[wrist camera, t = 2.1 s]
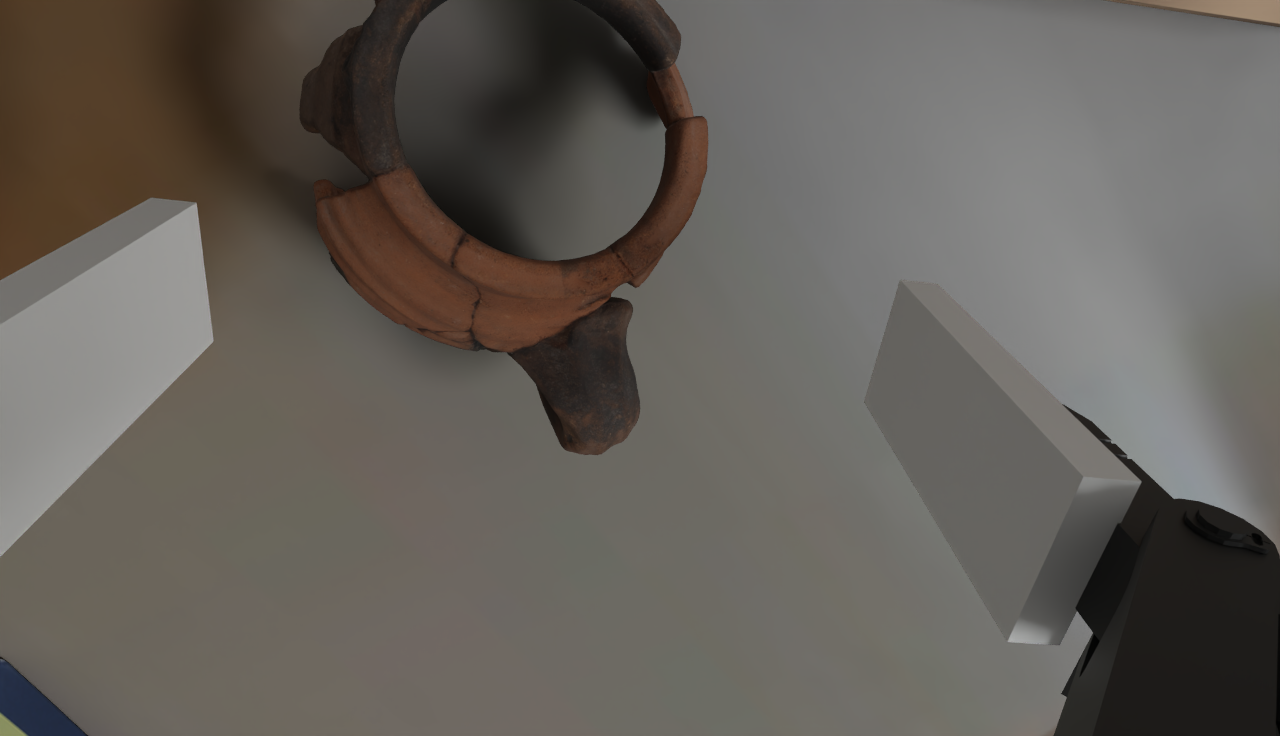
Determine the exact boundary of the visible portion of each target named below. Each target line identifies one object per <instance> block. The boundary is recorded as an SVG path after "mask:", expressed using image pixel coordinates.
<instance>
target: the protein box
mask: <svg viewBox="0 0 1280 736" xmlns="http://www.w3.org/2000/svg"><path fill="white" fill-rule="evenodd" d="M0 736H87V735H86V734H85V733H84V732H83V731H82V730H81V729H80V728H79V727H77V726H76V725H75V724H74V723H73V722H72V721H71V720H70V719H69V718H68V717H67V716H66V715H64V714H63V713H62V712H61V711H60V710H59V709H58V708H57V707H56V706H55V705H54V704H53V703H51V702H50V701H49V700H48V699H47V698H46V697H45V696H44V695H43V694H42V693H41V692H39V691H38V690H37V689H36V688H35V687H34V686H33V685H32V684H31V683H30V682H29V681H27V680H26V679H25V678H24V677H23V676H22V675H21V674H20V673H19V672H18V671H17V670H16V669H15V668H13V667H12V666H11V665H10V664H9V663H8V662H6V661H5V660H3V659H0Z"/></svg>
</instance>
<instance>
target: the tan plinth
mask: <svg viewBox="0 0 1280 736" xmlns="http://www.w3.org/2000/svg"><path fill="white" fill-rule="evenodd" d="M1105 1H1112V2H1118V3H1125V4H1131V5H1138V6H1145V7H1151V8H1158V9H1164V10H1171V11H1178V12H1184V13H1191V14H1197V15H1204V16H1211V17H1217V18H1224V19H1230V20H1237V21H1244V22H1250V23H1257V24H1263V25H1270V26H1277V27H1280V0H1105Z"/></svg>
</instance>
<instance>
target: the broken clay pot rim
mask: <svg viewBox="0 0 1280 736" xmlns="http://www.w3.org/2000/svg"><path fill="white" fill-rule="evenodd" d="M445 1H447V0H375V4H376V7H375V8H374V10H373V12H372V14H371V15H370V16H369V17H368V19H367V20H366V21H365V22H364V23H363V25H361V26H357V27H354V28H351V29H348V30H347V32H346V33H345V34H344V35H342V36H340V37H338V38H337V39H336V40H334V41H333V42H332V43H331V45H330V46H329V48H328V49H327V51H326V53H325V55H324V58H323V60H322V62H321V64H320V65H319V66H318V67H316V68H314V69H313V70H311V71H310V72H309V73H308V74H307V75H306V76H305V78H304V80H303V84H302V93H301V100H300V121H301V124H302V126H303V127H304V129H305V130H306V131H308V132H312V133H320V134H321V135H322V136H323V138H324V139H325V140H326V141H327V142H328V143H329V144H330V145H332V146H334V147H335V148H336V149H338V150H340V151H341V152H343V153H344V154H345V156H346V157H347V158H348V159H349V160H350V161H351V162H352V163H354V164H355V165H356V166H357V167H358V168H359V169H360V170H361V172H362V173H364V174H365V175H366V176H367V177H368V178H369V181H368V182H367V183H366V184H363V185H360V186H357V187H353V188H351V189H349V190H347V191H345V192H344V191H343V190H342V189H340V188H335V186H334V185H333V184H332V183H331V182H330V181H329V180H326V179H323V180H318V181H316V182H315V183H314V194H315V201H316V203H315V204H316V208H317V213H316V214H317V229H318V231H319V233H320V235H321V237H322V239H323V241H324V243H325V245H326V247H327V248H328V250H329V254H330V256H331V261H332V263H333V264H334V266H335V268H336V269H337V270H338V272H339V273H340V274H341V275H342V276H343V277H344V279H345V280H346V282H347V283H348V284H349V285H350V286H352V288H353V289H354V290H355V291H356V292H357V293H358V294H359V295H360V296H362V297H363V298H364V299H365V300H366V301H367V302H368V303H369V304H370V305H371V306H373V307H374V308H375V309H377V310H378V311H379V312H381V313H382V314H383V315H385V316H386V317H388V318H390V319H391V320H392V321H394V322H395V323H397V324H402V325H405V326H406V327H408V328H409V329H411V330H413V331H415V332H417V333H419V334H421V335H423V336H426V337H428V338H430V339H433V340H435V341H438V342H441V343H444V344H447V345H450V346H454V347H457V348H461V349H465V350H472V351H479V350H480V349H487V350H489V351H492V352H507V353H508V355H510V356H511V357H512V358H513V359H514V360H515V361H516V362H517V363H518V364H520V365H521V366H522V368H523V369H524V370H525V371H526V372H527V374H528V375H529V376H530V377H531V379H532V380H533V381H534V382H535V384H536V386H537V389H538V392H539V395H540V398H541V401H542V403H543V406H544V409H545V411H546V413H547V415H548V418H549V420H550V422H551V425H552V427H553V429H554V431H555V433H556V436H557V438H558V440H559V442H560V444H561V446H562V447H563V448H564V449H565V450H566V451H570V452H574V453H578V454H584V455H588V454H592V455H599V454H602V453H604V452H605V451H606V450H607V449H609V448H610V447H612V446H613V445H615V444H618V443H621V442H623V441H624V440H625V439H626V438H627V436H628V435H629V433H630V432H631V430H632V428H633V427H634V426H635V424H636V423H637V421H638V418H639V414H640V400H639V396H638V390H637V384H636V378H635V373H634V370H633V367H632V364H631V362H630V359H629V356H628V352H627V346H626V333H627V327H628V324H629V322H630V319H631V316H632V312H633V307H632V304H631V303H630V302H629V301H628V300H624V299H622V298H615V297H611V293H612V292H613V291H614V290H615V289H616V288H617V287H618V286H620V285H621V284H624V283H628V284H630V285H632V286H633V287H635V288H637V287H639V286H640V285H641V284H642V283H643V282H644V281H645V280H646V279H647V277H648V276H649V275H650V273H651V272H652V270H653V269H654V267H655V266H656V265H657V263H658V261H659V260H660V258H661V257H662V255H663V253H664V251H665V250H666V249H667V248H668V247H669V246H670V245H671V243H672V242H673V241H674V239H675V238H676V237H677V236H678V235H679V233H680V232H681V230H682V229H683V227H684V226H685V224H686V222H687V221H688V220H689V218H690V216H691V215H692V212H693V209H694V207H695V204H696V201H697V199H698V197H699V195H700V192H701V187H702V183H703V179H704V177H705V174H706V171H707V154H708V126H707V121H706V119H705V118H704V117H703V116H695V117H694V116H693V111H692V106H691V103H690V101H689V97H688V93H687V90H686V88H685V85H684V83H683V80H682V78H681V75H680V73H679V71H678V69H677V67H676V65H675V63H674V62H675V61H676V59H677V56H678V53H679V50H680V46H681V35H680V32H679V31H678V29H677V27H676V25H675V24H674V22H673V21H672V20H671V19H670V17H669V16H668V15H667V14H666V13H665V11H664V9H663V8H662V7H661V6H660V5H659V4H658V3H657V2H656V0H575V1H577V2H578V3H580V4H582V5H584V6H586V7H587V8H589V9H591V10H592V11H594V12H595V13H596V14H597V15H599V16H600V17H602V18H604V19H605V20H606V21H607V22H608V23H609V24H610V25H611V26H612V27H613V28H614V29H615V30H616V31H617V32H618V33H620V35H621V36H622V37H623V38H624V39H625V40H626V41H627V42H628V43H629V45H630V46H631V47H632V48H633V50H634V51H635V52H636V54H637V55H638V56H639V58H640V59H641V61H642V62H643V64H644V65H645V67H646V68H647V69H648V70H649V71H648V79H647V90H648V94H649V97H650V99H651V101H652V103H653V105H654V107H655V109H656V111H657V113H658V115H659V117H660V118H661V120H662V122H663V124H664V126H665V128H666V129H667V130H666V132H665V160H664V167H663V172H662V176H661V180H660V184H659V186H658V189H657V192H656V194H655V196H654V198H653V200H652V202H651V204H650V206H649V207H648V209H647V210H646V212H645V213H644V215H643V216H642V218H641V219H640V220H639V221H638V223H637V224H636V225H635V226H634V227H633V228H632V229H631V230H630V231H629V232H628V233H627V234H626V235H624V236H623V237H621V238H620V239H618V240H617V241H615V242H614V243H613V244H611V245H610V246H609V247H607V248H606V249H605V250H602V251H600V252H597V253H595V254H592V255H589V256H585V257H581V258H576V259H569V260H560V261H542V260H534V259H527V258H522V257H519V256H515V255H512V254H508V253H505V252H502V251H499V250H497V249H495V248H492V247H490V246H489V245H487V244H485V243H483V242H481V241H479V240H478V239H476V238H475V237H473V236H471V235H469V234H468V233H466V232H465V231H464V230H463V229H462V228H461V227H459V226H458V225H457V224H456V223H455V222H454V221H452V220H451V219H450V218H449V217H447V216H446V215H445V213H444V212H443V211H442V210H441V209H440V208H439V207H438V206H437V205H436V204H435V203H434V202H433V200H432V199H431V198H430V197H429V195H428V194H427V193H426V191H425V190H424V188H423V186H422V185H421V183H420V182H419V180H418V178H417V176H416V174H415V172H414V171H413V169H412V168H411V166H410V165H409V164H408V162H407V161H406V159H405V155H404V152H403V149H402V146H401V143H400V139H399V135H398V130H397V125H396V118H395V108H394V94H395V86H396V79H397V74H398V69H399V65H400V61H401V58H402V55H403V53H404V50H405V47H406V45H407V44H408V42H409V40H410V38H411V36H412V34H413V33H414V31H415V29H416V28H417V26H418V24H419V22H420V21H422V20H423V19H424V18H425V17H426V16H427V15H428V14H429V13H430V12H432V11H433V10H434V9H435V8H437V7H438V6H439V5H441V4H442V3H444V2H445Z"/></svg>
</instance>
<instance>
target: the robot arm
mask: <svg viewBox="0 0 1280 736" xmlns="http://www.w3.org/2000/svg"><path fill="white" fill-rule="evenodd" d="M212 342H213V333H212V325H211V317H210V309H209V300H208V292H207V284H206V276H205V268H204V260H203V251H202V243H201V235H200V227H199V219H198V210H197V203H195V202H186V201H177V200H168V199H158V198H150V199H148V200H146V201H145V202H143V203H141V204H139V205H137V206H135V207H134V208H132V209H130V210H128V211H126V212H124V213H123V214H121V215H119V216H117V217H115V218H113V219H112V220H110V221H108V222H106V223H104V224H102V225H101V226H99V227H97V228H95V229H93V230H91V231H90V232H88V233H86V234H84V235H82V236H81V237H79V238H77V239H75V240H73V241H71V242H70V243H68V244H66V245H64V246H62V247H60V248H59V249H57V250H55V251H53V252H51V253H49V254H48V255H46V256H44V257H42V258H40V259H38V260H37V261H35V262H33V263H31V264H29V265H27V266H26V267H24V268H22V269H20V270H18V271H17V272H15V273H13V274H11V275H9V276H7V277H6V278H4V279H2V280H0V557H1V556H2V555H3V554H4V553H5V552H6V551H7V550H8V549H9V547H10V546H11V545H12V544H13V543H14V542H15V541H16V540H17V539H18V538H19V537H20V536H21V535H22V534H23V533H24V532H25V531H26V530H27V529H28V528H29V527H30V526H31V525H32V524H33V523H34V522H35V521H36V520H37V519H38V518H39V517H40V516H41V515H42V514H43V513H44V512H45V511H46V510H47V509H48V508H49V507H50V506H51V505H52V504H53V503H54V502H55V501H56V500H57V499H58V498H59V497H60V496H61V495H62V494H63V493H64V492H65V491H66V490H67V489H68V488H69V487H70V486H71V485H72V484H73V483H74V482H75V481H76V480H77V479H78V478H79V477H80V476H81V475H82V474H83V473H84V472H85V471H86V470H87V469H88V468H89V467H90V466H91V465H92V464H93V463H94V462H95V461H96V460H97V459H98V458H99V457H100V456H101V455H102V454H103V453H104V452H105V451H106V450H107V449H108V447H109V446H110V445H111V444H112V443H113V442H114V441H115V440H116V439H117V438H118V437H119V436H120V435H121V434H122V433H123V432H124V431H125V430H126V429H127V428H128V427H129V426H130V425H131V424H132V423H133V422H134V421H135V420H136V419H137V418H138V417H139V416H140V415H141V414H142V413H143V412H144V411H145V410H146V409H147V408H148V407H149V406H150V405H151V404H152V403H153V402H154V401H155V400H156V399H157V398H158V397H159V396H160V395H161V394H162V393H163V392H164V391H165V390H166V389H167V388H168V387H169V386H170V385H171V384H172V383H173V382H174V381H175V380H176V379H177V378H178V377H179V376H180V375H181V374H182V373H183V372H184V371H185V370H186V369H187V368H188V367H189V366H190V365H191V364H192V363H193V362H194V361H195V360H196V359H197V358H198V357H199V356H200V355H201V354H202V353H203V352H204V351H205V350H206V348H207V347H208V346H209V345H210V344H211V343H212ZM864 403H865V404H866V406H867V408H868V409H869V411H870V413H871V414H872V416H873V418H874V419H875V421H876V423H877V424H878V426H879V428H880V429H881V431H882V433H883V434H884V436H885V438H886V440H887V441H888V443H889V445H890V446H891V448H892V450H893V451H894V453H895V455H896V456H897V458H898V460H899V461H900V463H901V465H902V466H903V468H904V470H905V471H906V473H907V475H908V476H909V478H910V480H911V481H912V483H913V485H914V486H915V488H916V490H917V491H918V493H919V495H920V497H921V498H922V500H923V502H924V503H925V505H926V507H927V508H928V510H929V512H930V513H931V515H932V517H933V518H934V520H935V522H936V523H937V525H938V527H939V528H940V530H941V532H942V533H943V535H944V537H945V538H946V540H947V542H948V543H949V545H950V547H951V548H952V550H953V552H954V554H955V555H956V557H957V559H958V560H959V562H960V564H961V565H962V567H963V569H964V570H965V572H966V574H967V575H968V577H969V579H970V580H971V582H972V584H973V585H974V587H975V589H976V590H977V592H978V594H979V595H980V597H981V599H982V600H983V602H984V604H985V605H986V607H987V609H988V610H989V612H990V614H991V616H992V617H993V619H994V621H995V622H996V624H997V626H998V627H999V629H1000V631H1001V632H1002V634H1003V636H1004V637H1005V639H1006V641H1007V642H1015V643H1031V644H1047V645H1060V644H1061V642H1062V640H1063V638H1064V636H1065V634H1066V632H1067V630H1068V628H1069V626H1070V624H1071V622H1072V620H1073V618H1074V616H1075V614H1076V612H1077V611H1078V613H1079V614H1080V615H1081V617H1082V618H1083V619H1084V621H1085V622H1086V623H1087V625H1088V626H1089V628H1090V629H1091V630H1092V632H1093V634H1092V636H1091V638H1090V640H1089V642H1088V644H1087V646H1086V647H1085V649H1084V651H1083V653H1082V655H1081V657H1080V659H1079V661H1078V663H1077V665H1076V667H1075V668H1074V670H1073V672H1072V674H1071V676H1070V678H1069V680H1068V682H1067V684H1066V686H1065V688H1064V690H1063V691H1062V693H1061V694H1063V695H1064V696H1066V697H1067V699H1066V702H1065V705H1064V707H1063V710H1062V713H1061V716H1060V719H1059V722H1058V725H1057V728H1056V730H1055V733H1054V736H1280V556H1279V553H1278V551H1277V548H1276V546H1275V544H1274V543H1273V542H1272V541H1271V540H1270V539H1269V538H1268V537H1267V536H1266V535H1265V534H1264V533H1263V532H1262V531H1260V530H1259V529H1257V528H1256V527H1254V526H1253V525H1251V524H1250V523H1248V522H1247V521H1245V520H1244V519H1242V518H1240V517H1238V516H1236V515H1234V514H1231V513H1229V512H1227V511H1225V510H1223V509H1221V508H1218V507H1215V506H1212V505H1209V504H1205V503H1202V502H1199V501H1193V500H1186V499H1173V498H1172V497H1171V496H1170V495H1169V494H1168V493H1167V492H1166V491H1165V490H1164V489H1162V488H1161V487H1160V486H1159V485H1158V484H1157V483H1156V482H1155V481H1154V480H1153V479H1152V478H1151V477H1150V476H1149V475H1148V474H1147V473H1146V472H1145V471H1143V470H1142V469H1141V468H1140V467H1139V466H1138V465H1137V464H1136V463H1135V462H1134V461H1133V460H1132V459H1127V454H1125V453H1124V452H1123V451H1122V450H1121V449H1120V448H1119V447H1118V446H1117V445H1116V444H1112V443H1111V439H1110V438H1109V437H1107V436H1106V435H1105V434H1104V433H1103V432H1102V431H1101V430H1100V429H1099V428H1098V427H1097V426H1096V425H1095V424H1094V423H1093V422H1092V421H1090V420H1088V419H1087V418H1085V417H1083V416H1082V415H1080V414H1078V413H1077V412H1075V411H1073V410H1072V409H1070V408H1068V407H1067V406H1065V405H1063V404H1061V403H1060V402H1059V401H1058V400H1057V399H1056V398H1055V397H1054V396H1053V395H1052V394H1051V393H1050V392H1049V391H1048V390H1047V389H1046V388H1045V387H1043V386H1042V385H1041V384H1040V383H1039V382H1038V381H1037V380H1036V379H1035V378H1034V377H1033V376H1032V375H1031V374H1030V373H1029V372H1028V371H1027V370H1026V369H1025V368H1024V367H1023V366H1022V365H1021V364H1020V363H1019V362H1018V361H1017V360H1016V359H1015V358H1014V357H1012V356H1011V355H1010V354H1009V353H1008V352H1007V351H1006V350H1005V349H1004V348H1003V347H1002V346H1001V345H1000V344H999V343H998V342H997V341H996V340H995V339H994V338H993V337H992V336H991V335H990V334H989V333H988V332H987V331H986V330H985V329H984V328H983V327H982V326H980V325H979V324H978V323H977V322H976V321H975V320H974V319H973V318H972V317H971V316H970V315H969V314H968V313H967V312H966V311H965V310H964V309H963V308H962V307H961V306H960V305H959V304H958V303H957V302H956V301H955V300H954V299H953V298H952V297H951V296H949V295H948V294H947V293H946V292H945V291H944V290H943V289H942V288H941V287H940V286H939V285H938V284H934V283H925V282H916V281H906V280H900V282H899V285H898V289H897V292H896V296H895V299H894V302H893V306H892V309H891V312H890V316H889V319H888V323H887V326H886V329H885V333H884V336H883V339H882V343H881V346H880V350H879V353H878V356H877V360H876V363H875V367H874V370H873V373H872V377H871V380H870V383H869V387H868V390H867V394H866V397H865V400H864Z"/></svg>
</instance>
